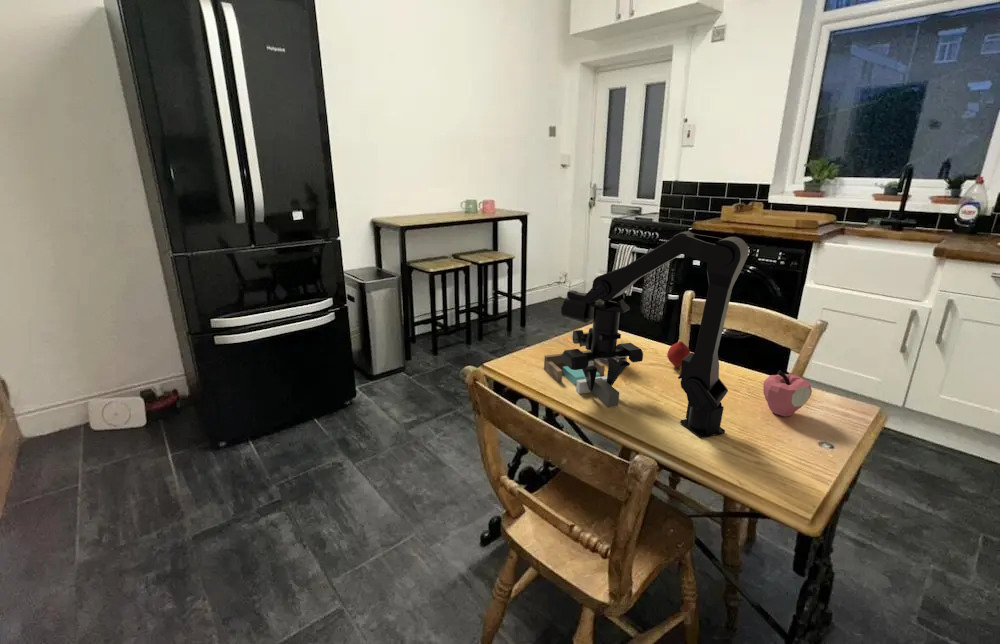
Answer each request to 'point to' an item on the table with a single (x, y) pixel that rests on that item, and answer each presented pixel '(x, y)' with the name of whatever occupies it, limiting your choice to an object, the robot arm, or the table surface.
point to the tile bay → (555, 365)
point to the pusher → (600, 391)
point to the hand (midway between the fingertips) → (599, 388)
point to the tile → (574, 374)
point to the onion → (678, 353)
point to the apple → (786, 393)
